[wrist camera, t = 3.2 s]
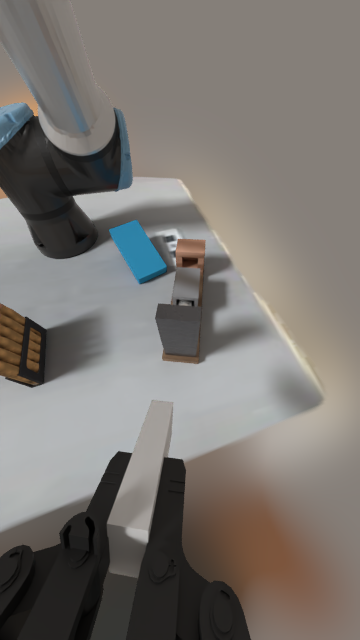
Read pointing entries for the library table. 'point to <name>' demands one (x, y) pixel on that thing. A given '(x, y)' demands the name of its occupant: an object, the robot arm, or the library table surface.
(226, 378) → the library table surface
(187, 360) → the wooden bar with block
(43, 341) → the ammunition clip
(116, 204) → the library table surface
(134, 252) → the blue block
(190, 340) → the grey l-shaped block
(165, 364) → the library table surface
